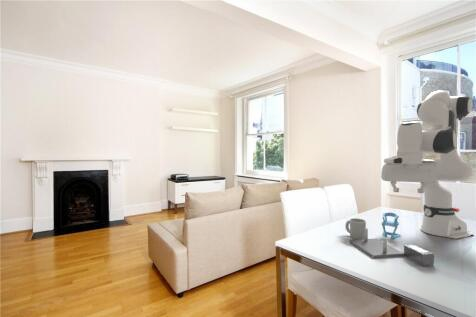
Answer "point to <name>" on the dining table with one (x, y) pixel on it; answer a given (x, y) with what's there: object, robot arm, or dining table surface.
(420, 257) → the block
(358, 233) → the cup
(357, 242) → the grey peg base
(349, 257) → the dining table surface
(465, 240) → the dining table surface
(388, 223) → the chair
